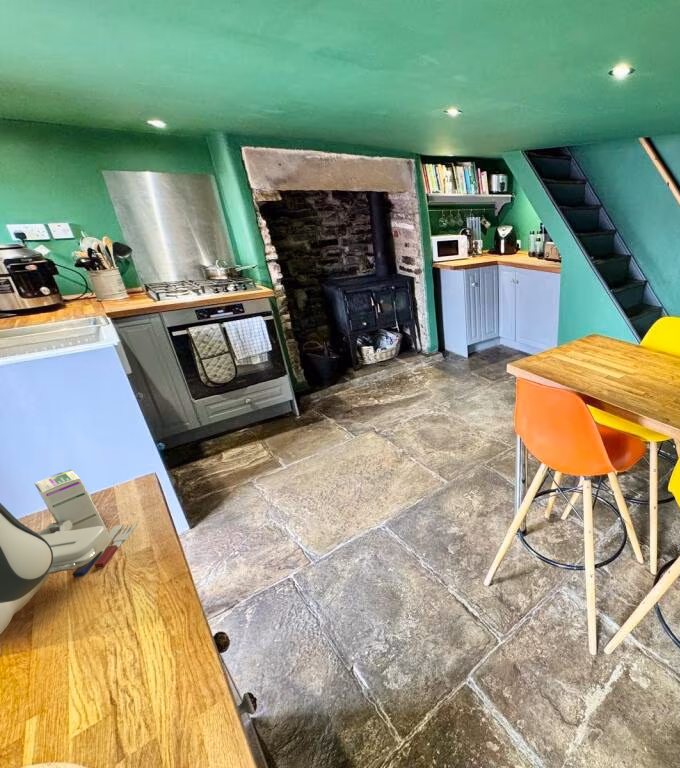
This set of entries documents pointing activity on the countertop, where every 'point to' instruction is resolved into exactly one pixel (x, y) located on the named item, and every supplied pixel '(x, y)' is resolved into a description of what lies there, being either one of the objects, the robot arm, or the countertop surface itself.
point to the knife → (85, 568)
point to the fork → (114, 546)
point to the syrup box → (69, 500)
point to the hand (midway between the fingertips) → (62, 524)
